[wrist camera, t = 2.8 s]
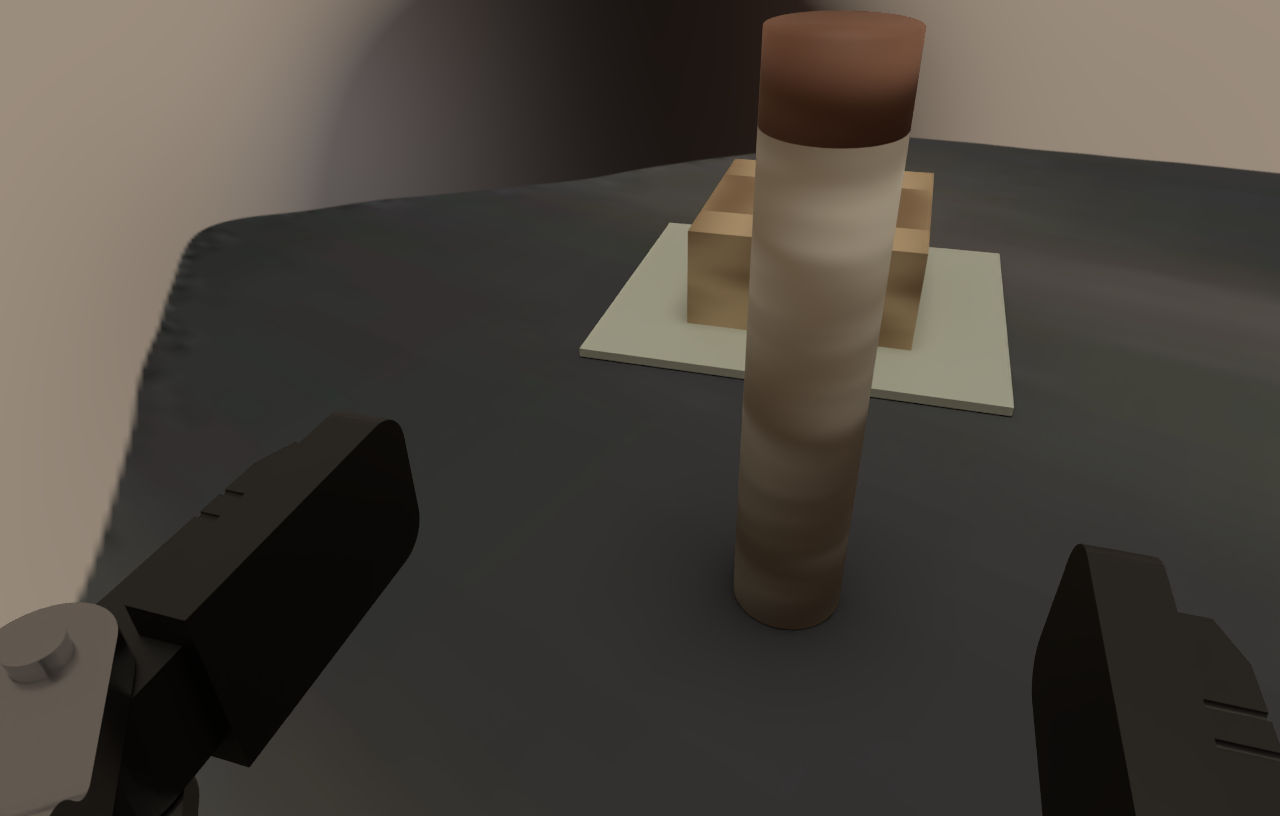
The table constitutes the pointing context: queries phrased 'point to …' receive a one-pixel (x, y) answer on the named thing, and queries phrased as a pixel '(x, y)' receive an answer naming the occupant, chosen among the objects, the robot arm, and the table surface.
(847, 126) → the peg
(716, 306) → the wooden square frame
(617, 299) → the mat
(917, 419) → the table surface
